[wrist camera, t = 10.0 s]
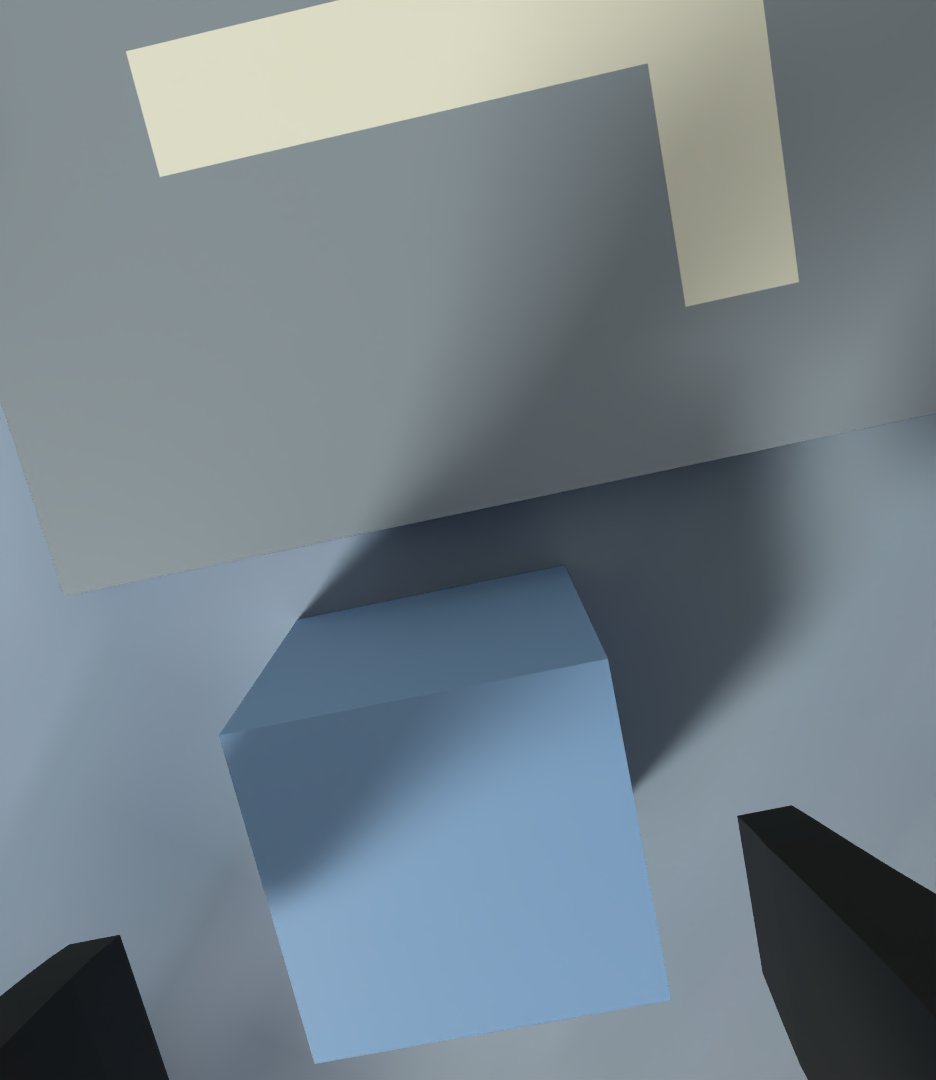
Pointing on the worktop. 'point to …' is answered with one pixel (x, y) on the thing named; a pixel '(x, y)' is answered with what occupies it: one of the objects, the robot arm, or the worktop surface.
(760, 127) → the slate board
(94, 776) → the worktop surface
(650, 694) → the worktop surface
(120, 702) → the worktop surface
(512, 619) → the blue cube
